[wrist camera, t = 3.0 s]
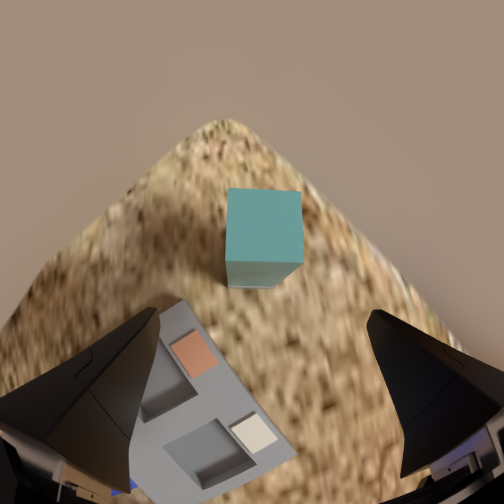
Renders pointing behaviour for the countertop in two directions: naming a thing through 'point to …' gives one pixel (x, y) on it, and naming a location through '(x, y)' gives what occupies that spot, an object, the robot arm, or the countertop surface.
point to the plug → (262, 237)
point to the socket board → (198, 420)
